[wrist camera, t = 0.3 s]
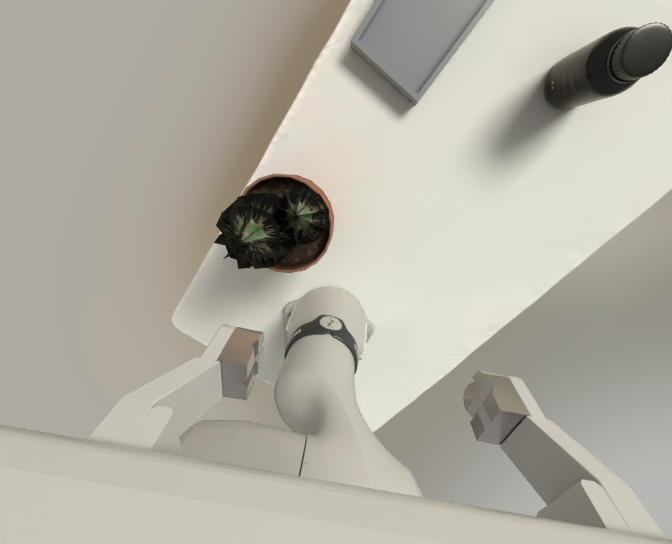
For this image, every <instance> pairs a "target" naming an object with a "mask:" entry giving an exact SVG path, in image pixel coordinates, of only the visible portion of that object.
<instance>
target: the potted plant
mask: <svg viewBox="0 0 672 544" xmlns="http://www.w3.org/2000/svg"><path fill="white" fill-rule="evenodd" d="M216 226H217V227H218V228H219V230H220V231H221V232H222V234H220V235H219V236H218V238H217V239H216V241H215V242H214V243H217V244H222V245H226V248H227V251H228V255H227V256H225V257H224V258H226V257H228V256H229V257H230V258H233V259H236V260H237V264H238V269H242V268H250V267H251V266H253V267H254V268H255V269H258V268H269V269H271V270H274V271H276V272H287V273H293V272H297V271H302V270H305V269H307V268H309V267H310V266H312V265H314V264H315V263H317V262H318V261H319V260H320V258H321V257H322V256H323V255H324V254H325V253H326V251H327V249H328V246H329V244H330V241H331V239H332V234H333V226H334V215H333V211H332V207H331V203H330V201H329V200H328V198H327V197H326V195H325V193H324V192H323V190H322V189H320V188H319V187H318V186H317V185H316V184H314V183H313V182H312V181H310V180H308V179H305V178H303V177H301V176H298V175H285V174H272V175H268V176H265V177H261V178H259V179H257V180H256V181H255V182H253V183H252V184H251V185H249V186H248V187H247V188H246V189H245V191H244V192H243V194H242V195H241V196H240V197H238V198H237V200H236V201H235V202H234V203H232V204H231V205H230V206H229V207H228V208H227V209H226V210H225V211H224V212H222V214H221V216H220V218H219V220H218V222H217V225H216ZM224 258H223V259H224Z"/></svg>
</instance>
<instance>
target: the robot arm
mask: <svg viewBox="0 0 672 544" xmlns="http://www.w3.org/2000/svg"><path fill="white" fill-rule="evenodd" d="M289 313H291V315H290V314H289ZM373 332H374V327H373V325H372V324H371V322H370V321H369V320H368V319H367V318H366V317H365V315H364V312H363V309H362V307H361V305H360V303H359V302H358V301H357V300H356V299H355V298H354V297H353V296H352V295H351V294H349V293H348V292H346V291H344V290H341V289H338V288H332V287H323V288H318V289H315V290H312V291H310V292H309V293H307V294H306V295H305V296H303V297H302V298H301V299H299V300H297V301H293V302H290V303H288V304H287V305H286V307H285V348H286V351H285V361H284V364H283V366H282V369H281V371H280V374H279V376H278V379H277V382H276V384H275V390H274V396H275V402H276V405H277V409H278V410H279V413H280V415H281V417H282V419H283V421H284V422H285V423H286V424H287V425H288V426H289V427H290V428H291V429H292V430H293V431H294V432H292V431H287V430H283V429H279V428H275V427H271V426H266V425H262V424H258V423H254V422H249V421H230V420H227V421H226V420H225V421H224V420H219V421H218V420H215V421H201V422H199V423H197V424H195V425H194V426H192V427H191V428H189V429H188V430H187V431H185V432H184V433H183V434H182V435H181V436H180V437H179V435H180V434H181V433H182V432H183V431H184V430H185V429H187V428H188V427H189V426H190V425H191V424H193V423H194V422H195V421H196V420H197V419H199V418H200V417H201V416H202V415H203V414H205V413H206V412H207V411H208V410H209V409H210V408H212V407H213V406H214V405H215V404H216V403H218V402H219V401H220V400H221V399H222V398H223V397H230V398H237V399H243V400H247V398H248V396H249V394H250V391H251V389H252V386H253V384H254V383H253V382H254V376H255V375H256V374H257V373H258V371H259V368H260V365H261V362H262V357H263V347H262V346H261V345H262V343H263V341H264V333H263V332H259V331H254V330H249V329H244V328H239V327H233V326H228V325H222V326H221V327H220V328H219V330H218V331H217V333H216V334H215V336H214V337H213V339H212V340H211V342H210V343H209V345H208V346H207V348H206V349H205V351H204V353H203V354H202V356H201V357H200V358H198V357H195V358H193V359H192V360H190V361H188V362H186V363H184V364H182V365H181V366H179V367H177V368H175V369H173V370H172V371H170V372H168V373H166V374H164V375H163V376H161V377H159V378H157V379H155V380H154V381H152V382H150V383H148V384H146V385H144V386H143V387H141V388H139V389H137V390H135V391H134V392H132V393H130V394H128V395H126V396H125V397H123V398H122V399H121V400H120V401H119V402H118V404H117V405H116V406H115V407H114V408H113V410H112V411H111V412H110V413H109V414H108V415H107V417H106V418H105V419H104V420H103V421H102V423H101V424H100V425H99V426H98V427H97V429H96V430H95V431H94V432H93V433H92V435H91V436H90V437H89V438H88V439H87V440H85V439H80V438H73V437H68V436H62V435H56V434H50V433H44V432H39V431H33V430H27V429H21V428H15V427H10V426H4V425H0V544H672V540H669V539H666V538H665V537H664V535H663V534H662V532H661V531H660V529H659V528H658V527H657V525H656V524H655V522H654V521H653V520H652V518H651V517H650V515H649V514H648V513H647V511H646V510H645V509H644V507H643V506H642V504H641V503H640V501H639V500H638V499H637V498H636V496H635V494H634V493H633V492H632V490H631V489H630V487H629V486H628V485H626V484H625V483H624V482H623V481H622V480H620V479H619V478H618V477H617V476H616V475H615V474H613V473H612V472H611V471H610V470H609V469H607V468H606V467H605V466H604V465H603V464H602V463H600V462H599V461H598V460H597V459H596V458H595V457H593V456H592V455H591V454H590V453H589V452H587V451H586V450H585V449H584V448H583V447H582V446H580V445H579V444H578V443H577V442H576V441H574V440H573V439H572V438H571V437H570V436H569V435H567V434H566V433H565V432H564V431H563V430H561V429H560V428H559V427H558V426H557V425H556V424H554V423H553V422H552V421H551V420H547V419H545V417H544V415H543V413H542V412H541V410H540V408H539V407H538V405H537V404H536V402H535V400H534V399H533V397H532V395H531V394H530V392H529V390H528V389H527V387H526V385H525V384H524V382H523V381H522V380H521V379H520V378H517V377H511V376H504V375H500V374H494V373H488V372H482V371H478V372H476V373H475V374H474V376H473V377H472V378H473V380H474V382H472V383H470V384H468V385H467V387H466V389H465V390H464V396H463V400H464V405H465V408H466V411H467V412H468V413H469V414H470V415H471V416H472V419H471V425H472V428H473V431H474V434H475V437H476V439H477V441H482V442H487V443H492V444H497V445H501V446H500V447H501V448H502V450H503V451H504V452H505V453H506V454H507V456H508V457H509V458H510V460H511V461H512V462H513V463H514V464H515V466H516V467H517V468H518V469H519V471H520V472H521V473H522V474H523V476H524V477H525V478H526V479H527V481H528V482H529V483H530V484H531V486H532V487H533V488H534V489H535V491H536V492H537V493H538V494H539V496H540V497H541V498H542V499H543V500H544V502H545V503H546V504H547V506H546V507H544V508H543V509H542V510H540V511H539V512H538V514H537V517H534V516H529V515H522V514H517V513H511V512H505V511H500V510H494V509H487V508H482V507H476V506H470V505H465V504H459V503H453V502H447V501H441V500H435V499H430V498H424V497H423V495H422V493H421V490H420V487H419V486H418V484H417V482H416V480H415V478H414V476H413V475H412V474H411V472H410V471H409V469H408V468H406V467H405V466H404V465H403V464H401V463H400V462H399V461H398V460H397V459H395V458H394V457H393V456H392V455H391V454H390V453H389V452H388V451H387V450H386V449H385V448H384V447H383V445H382V444H381V443H380V442H379V441H378V439H377V438H376V437H375V435H374V434H373V432H372V431H371V430H370V428H369V427H368V425H367V423H366V422H365V420H364V418H363V416H362V414H361V412H360V410H359V407H358V404H357V401H356V394H355V376H354V375H355V373H356V370H357V367H358V360H361V359H362V357H363V353H362V351H364V350H365V348H366V343H367V342H368V340H369V339H370V337H371V336H372V334H373Z"/></svg>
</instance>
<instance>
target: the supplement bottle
mask: <svg viewBox="0 0 672 544" xmlns="http://www.w3.org/2000/svg"><path fill="white" fill-rule="evenodd" d="M671 50H672V33H671V30H670V29H669V27H668V26H666V25H665V24H662V23H657V22H655V23H649V24H647V25H644V26H642V27H640V28H637V27H623V28H619V29H616V30H614V31H612V32H610V33H608V34H606V35H604V36H602V37H601V38H599V39H597V40H595V41H593V42H592V43H590V44H588V45H586V46H584V47H583V48H581V49H579V50H577V51H575V52H573V53H572V54H570V55H568V56H567V57H565V58H563V59H562V60H560V61H559V62H558V63H557V64H556V65H555V66H554V67H553V69H552V70H551V72H550V73H549V75H548V77H547V80H546V83H545V96H546V98H547V100H548V102H549V103H550V104H551V105H552V106H554V107H556V108H559V109H569V108H573V107H577V106H580V105H584V104H587V103H591V102H594V101H598V100H601V99H605V98H608V97H612V96H615V95H617V94H620V93H622V92H624V91H626V90H627V89H629V88H630V87H632V86H633V85H634V84H635V83H636V82H637V81H638V80H639V79H640V78H642V77H645V76H647V75H649V74H651V73H653V72H654V71H655V70H657V69H658V68H659V67H660V66H662V64H663V63H664V62H665V61H666V59H667V57H668V56H669V54H670V52H671Z"/></svg>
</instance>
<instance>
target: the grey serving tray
mask: <svg viewBox="0 0 672 544" xmlns="http://www.w3.org/2000/svg"><path fill="white" fill-rule="evenodd" d="M493 1H494V0H376V1H375V2H374V4H373V6H372V7H371V9H370V11H369V12H368V14H367V15H366V17H365V19H364V20H363V22H362V24H361V25H360V27H359V28H358V30H357V32H356V33H355V35H354V37H353V38H352V40H351V47H352V49H353V50H354V51H356V52H357V53H358V54H359V55H360V56H361V57H362V58H363V59H364V60H365V61H367V62H368V63H369V64H370V65H371V66H372V67H373V68H374V69H375V70H376V71H378V72H379V73H380V74H381V75H382V76H383V77H384V78H385V79H386V80H388V81H389V82H390V83H391V84H392V85H393V86H394V87H395V88H396V89H397V90H399V91H400V92H401V93H402V94H403V95H404V96H405V97H406V98H407V99H408V100H410V101H411V102H412V103H413V104H414V105H416V104H417V102H418V101H419V100H420V99H421V97H422V96H423V95H424V93H425V92H426V91H427V89H428V88H429V87H430V85H431V84H432V83H433V81H434V80H435V79H436V77H437V76H438V75H439V73H440V72H441V71H442V69H443V68H444V67H445V65H446V64H447V63H448V61H449V60H450V59H451V57H452V56H453V55H454V53H455V52H456V51H457V49H458V48H459V47H460V45H461V44H462V43H463V41H464V40H465V39H466V37H467V36H468V35H469V33H470V32H471V31H472V29H473V28H474V27H475V25H476V24H477V23H478V21H479V20H480V19H481V17H482V16H483V15H484V13H485V12H486V11H487V9H488V8H489V7H490V5H491V4H492V3H493Z"/></svg>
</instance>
